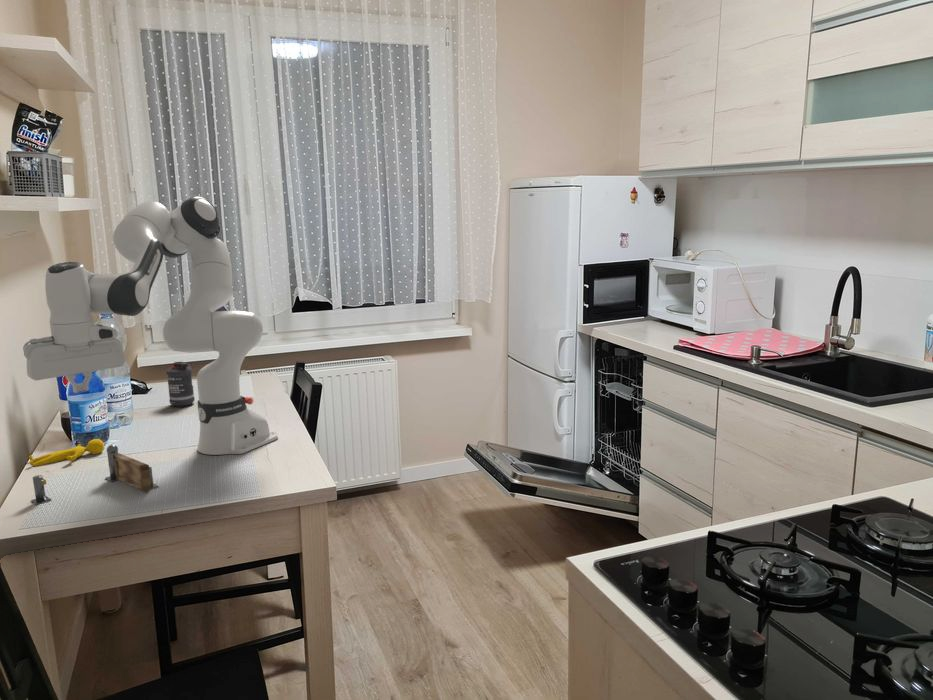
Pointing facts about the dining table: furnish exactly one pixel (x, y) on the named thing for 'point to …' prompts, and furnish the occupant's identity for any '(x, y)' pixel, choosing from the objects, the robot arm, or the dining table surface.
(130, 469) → the gate
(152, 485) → the post
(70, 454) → the figurine
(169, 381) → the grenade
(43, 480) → the latch stile
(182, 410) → the dining table surface
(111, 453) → the hinge post
